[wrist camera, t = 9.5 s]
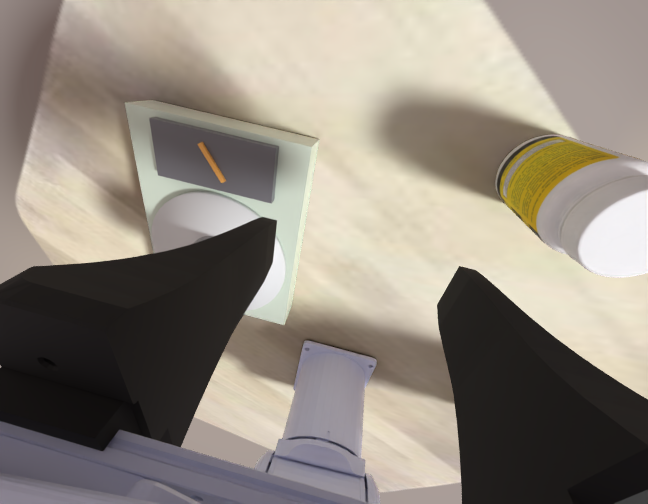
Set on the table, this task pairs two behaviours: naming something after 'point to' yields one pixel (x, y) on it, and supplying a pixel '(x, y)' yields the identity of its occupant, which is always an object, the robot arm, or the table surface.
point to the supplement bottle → (581, 201)
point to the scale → (224, 186)
